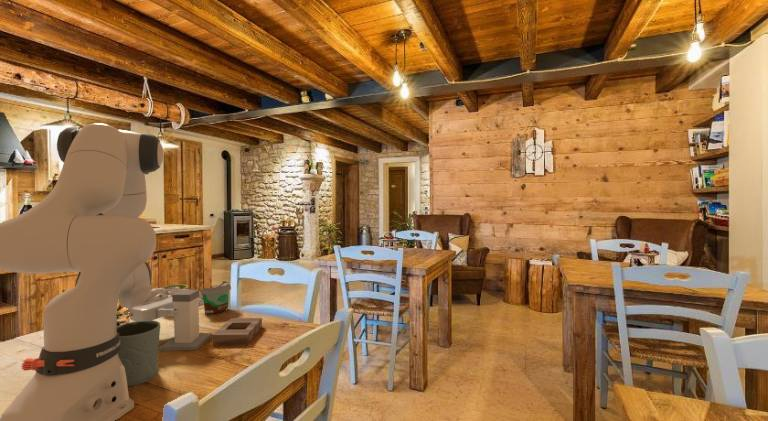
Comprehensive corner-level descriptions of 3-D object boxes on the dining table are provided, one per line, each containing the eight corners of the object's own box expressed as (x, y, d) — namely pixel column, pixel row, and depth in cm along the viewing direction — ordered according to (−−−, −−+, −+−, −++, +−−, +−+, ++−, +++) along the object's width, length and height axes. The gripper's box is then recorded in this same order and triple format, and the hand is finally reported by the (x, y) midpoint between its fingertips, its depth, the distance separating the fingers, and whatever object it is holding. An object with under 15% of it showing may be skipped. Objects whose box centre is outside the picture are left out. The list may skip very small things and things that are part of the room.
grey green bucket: (152, 363, 92) (151, 317, 92) (168, 376, 86) (167, 326, 85) (103, 379, 84) (102, 328, 84) (117, 394, 78) (115, 339, 77)
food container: (217, 317, 127) (216, 289, 127) (202, 316, 129) (201, 288, 128) (238, 307, 139) (237, 281, 139) (224, 306, 141) (223, 280, 140)
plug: (191, 343, 102) (189, 294, 102) (173, 343, 103) (172, 294, 102) (200, 336, 107) (199, 289, 107) (183, 335, 108) (182, 289, 107)
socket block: (247, 344, 104) (247, 334, 104) (212, 345, 103) (212, 334, 103) (261, 327, 118) (261, 318, 118) (230, 327, 117) (230, 318, 117)
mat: (196, 349, 100) (196, 346, 100) (159, 350, 100) (159, 347, 100) (212, 336, 110) (212, 332, 110) (178, 336, 110) (178, 333, 110)
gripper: (117, 302, 98) (156, 307, 94) (180, 285, 118) (214, 288, 114) (118, 325, 99) (157, 331, 95) (180, 304, 118) (215, 308, 114)
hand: (189, 307), depth 104 cm, fingers open, 8 cm apart
